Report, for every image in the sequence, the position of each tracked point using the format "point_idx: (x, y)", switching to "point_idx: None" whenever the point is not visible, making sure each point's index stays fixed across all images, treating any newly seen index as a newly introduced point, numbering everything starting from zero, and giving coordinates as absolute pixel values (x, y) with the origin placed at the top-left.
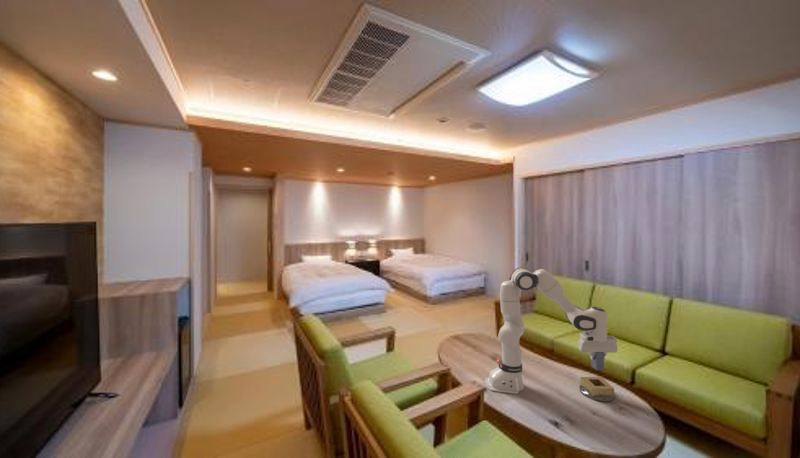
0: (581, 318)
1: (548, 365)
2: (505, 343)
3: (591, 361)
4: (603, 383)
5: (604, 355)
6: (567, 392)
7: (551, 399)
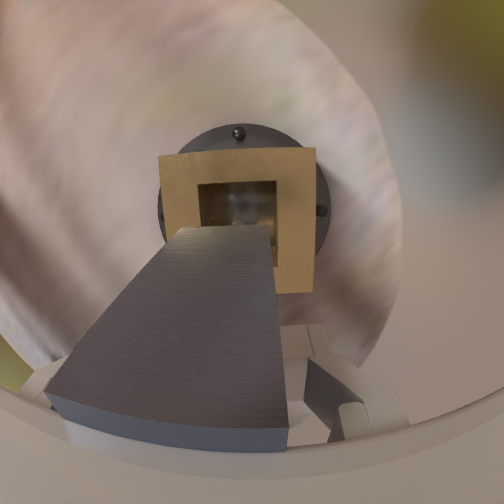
0: None
1: None
2: None
3: (163, 250)
4: (280, 236)
5: (325, 421)
6: (103, 215)
7: (48, 271)
